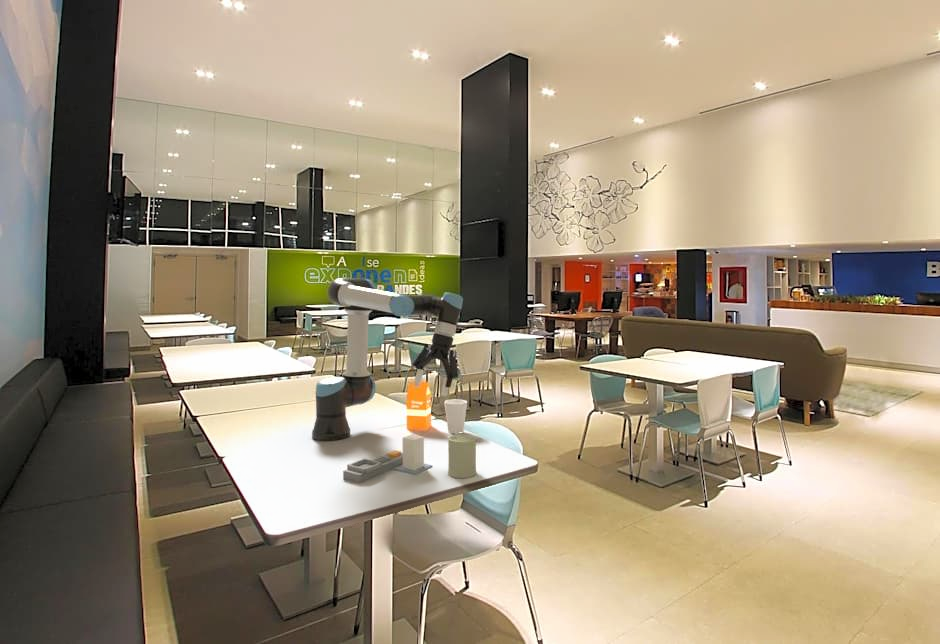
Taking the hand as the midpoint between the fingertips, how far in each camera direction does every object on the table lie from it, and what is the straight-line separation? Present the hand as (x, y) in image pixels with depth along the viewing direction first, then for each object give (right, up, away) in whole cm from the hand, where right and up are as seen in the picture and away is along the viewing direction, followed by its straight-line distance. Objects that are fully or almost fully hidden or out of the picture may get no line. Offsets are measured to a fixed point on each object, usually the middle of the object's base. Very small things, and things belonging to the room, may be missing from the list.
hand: (429, 391), depth 185 cm
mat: (-4, -24, -16) cm, 29 cm away
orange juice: (-7, -21, +36) cm, 42 cm away
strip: (-16, -24, -18) cm, 33 cm away
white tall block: (-4, -23, -16) cm, 28 cm away
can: (+12, -24, -21) cm, 34 cm away
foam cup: (+9, -21, +28) cm, 37 cm away
